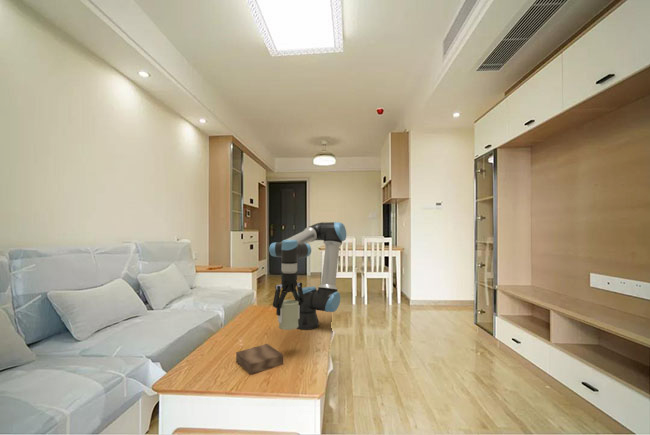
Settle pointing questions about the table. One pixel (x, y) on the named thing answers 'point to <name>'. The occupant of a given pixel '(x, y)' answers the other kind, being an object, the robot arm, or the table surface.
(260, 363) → the brown flat square block
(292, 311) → the can
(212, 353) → the table surface
